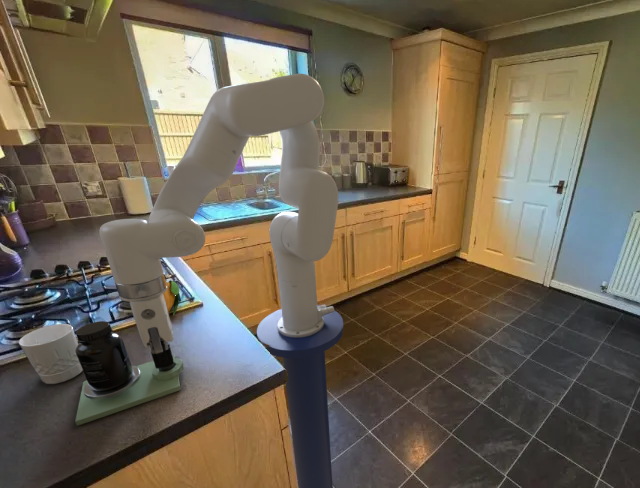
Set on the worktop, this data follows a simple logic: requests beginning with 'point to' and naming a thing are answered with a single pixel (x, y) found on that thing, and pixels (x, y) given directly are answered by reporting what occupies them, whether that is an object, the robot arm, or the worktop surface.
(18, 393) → the worktop surface
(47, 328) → the white cup
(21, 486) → the worktop surface
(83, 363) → the supplement bottle
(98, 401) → the scale
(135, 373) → the scale pan
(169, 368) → the tare button
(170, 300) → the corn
